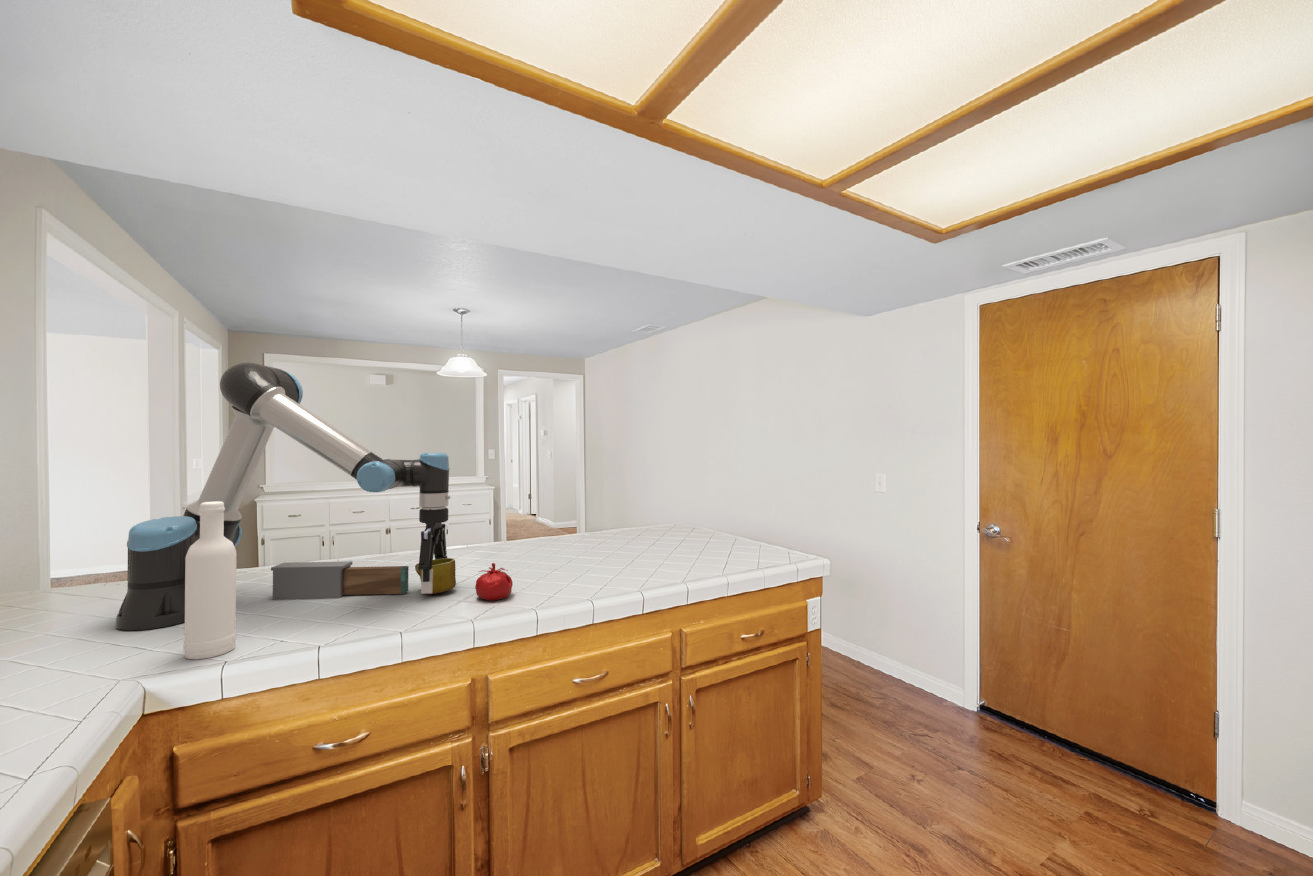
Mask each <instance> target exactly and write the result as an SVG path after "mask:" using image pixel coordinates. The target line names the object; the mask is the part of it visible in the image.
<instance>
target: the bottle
mask: <svg viewBox="0 0 1313 876" xmlns="http://www.w3.org/2000/svg"><path fill="white" fill-rule="evenodd" d="M224 510H225V507H224V503H223V502H220V501H215V502H203V503H201V504H200V509H199V512H200V538H199V539H198V540H197V541H196V542H195V543H194V544H192V545H191V546H190V548H189V550H188V552H187V555H186V557H185V622H184V640H183V650H184V651H183V653H184V655H183V657H184V658H185V659H189V660H204V659H209V658H214V657H218V656H222V655H224V654H227V653H230V652H232V651H233V650H234V649H235V647H236V640H237V631H236V629H237V627H236V624H237V623H236V621H237V620H236V619H237V550H236V547H234V545H233V542H231V541H230V540H229V539H227V538H226V537H224Z"/></svg>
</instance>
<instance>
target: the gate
mask: <svg viewBox="0 0 1313 876" xmlns="http://www.w3.org/2000/svg"><path fill="white" fill-rule="evenodd" d="M409 566H410V565H397V566H396V565H393V566H384V565H383V566H351V567H347V568H345V569H343V593H342V596H351V595H352V596H356V595H358V596H359V595H396V594H397V595H398V594H401V595H402V594H403V595H404V594H406V593H407V592H409Z"/></svg>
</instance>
